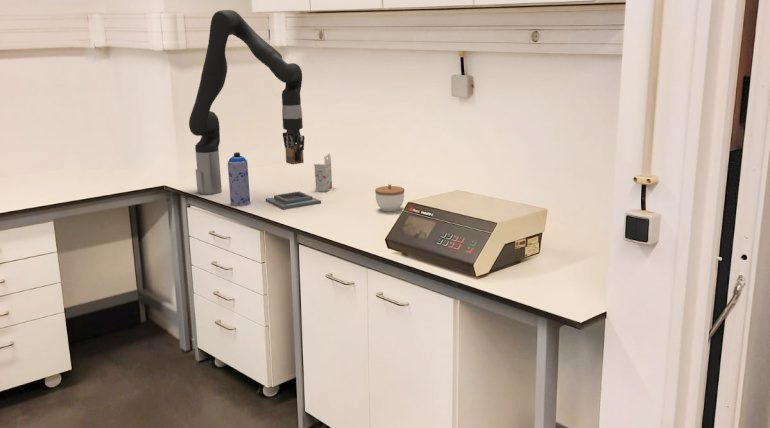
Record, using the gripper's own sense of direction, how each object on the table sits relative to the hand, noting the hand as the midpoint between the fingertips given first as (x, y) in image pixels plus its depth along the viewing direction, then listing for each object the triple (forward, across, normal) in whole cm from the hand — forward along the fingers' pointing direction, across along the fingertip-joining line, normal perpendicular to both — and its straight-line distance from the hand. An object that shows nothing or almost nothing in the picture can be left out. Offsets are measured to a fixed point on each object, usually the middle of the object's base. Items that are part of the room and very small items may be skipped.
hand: (294, 160), depth 278 cm
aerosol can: (+16, -7, -21) cm, 27 cm away
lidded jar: (+16, +36, +19) cm, 44 cm away
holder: (+16, +4, -4) cm, 16 cm away
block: (+1, 0, 0) cm, 1 cm away
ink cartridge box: (+16, -8, +17) cm, 24 cm away
